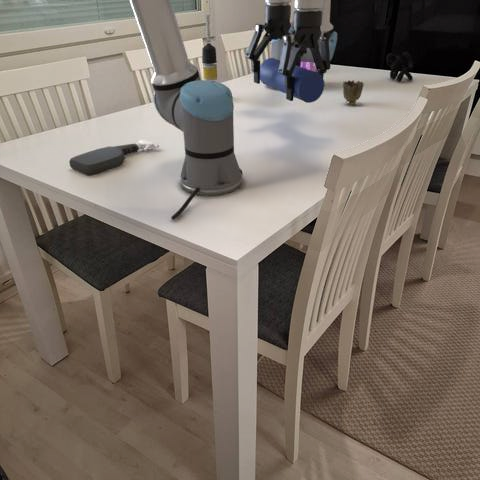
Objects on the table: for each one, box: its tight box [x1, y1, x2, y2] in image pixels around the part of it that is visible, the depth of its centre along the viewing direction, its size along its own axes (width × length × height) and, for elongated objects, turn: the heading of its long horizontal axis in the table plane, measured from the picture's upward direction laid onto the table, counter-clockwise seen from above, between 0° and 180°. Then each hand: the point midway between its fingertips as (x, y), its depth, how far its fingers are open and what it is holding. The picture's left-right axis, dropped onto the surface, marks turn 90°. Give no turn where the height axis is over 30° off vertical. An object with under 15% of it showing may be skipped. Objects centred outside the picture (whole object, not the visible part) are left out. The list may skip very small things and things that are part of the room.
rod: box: [260, 57, 325, 104], centre depth 133 cm, size 24×8×8 cm, turn 25°
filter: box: [201, 14, 218, 82], centre depth 171 cm, size 6×6×30 cm
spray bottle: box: [68, 139, 160, 177], centre depth 124 cm, size 3×11×24 cm
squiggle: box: [385, 51, 414, 83], centre depth 198 cm, size 11×10×15 cm
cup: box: [342, 80, 365, 106], centre depth 166 cm, size 8×7×8 cm
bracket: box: [300, 62, 318, 72], centre depth 218 cm, size 13×6×7 cm, turn 143°
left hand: (303, 97), depth 129 cm, fingers closed on rod, 8 cm apart
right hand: (276, 80), depth 140 cm, fingers open, 13 cm apart
